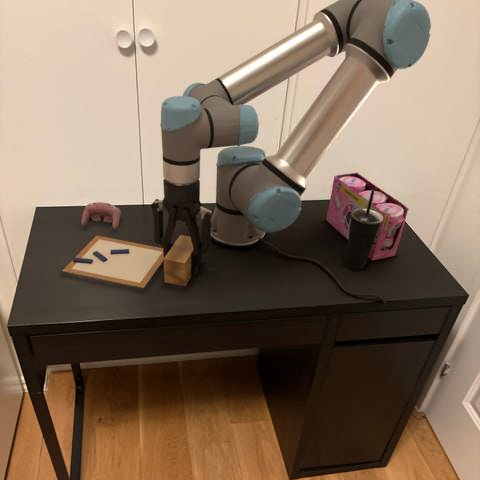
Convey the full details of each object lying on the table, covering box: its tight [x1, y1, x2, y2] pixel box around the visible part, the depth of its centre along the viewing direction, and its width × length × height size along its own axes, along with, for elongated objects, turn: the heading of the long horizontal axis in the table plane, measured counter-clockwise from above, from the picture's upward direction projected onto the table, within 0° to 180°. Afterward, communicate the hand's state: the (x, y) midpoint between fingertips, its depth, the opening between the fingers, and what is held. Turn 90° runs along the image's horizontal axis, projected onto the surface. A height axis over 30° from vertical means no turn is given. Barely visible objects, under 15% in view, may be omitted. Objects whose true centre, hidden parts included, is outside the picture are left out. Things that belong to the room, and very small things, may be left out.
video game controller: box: [80, 201, 122, 229], centre depth 134 cm, size 10×5×7 cm, turn 84°
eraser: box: [163, 234, 194, 288], centre depth 117 cm, size 5×11×8 cm, turn 165°
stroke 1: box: [72, 257, 93, 264], centre depth 119 cm, size 4×1×1 cm, turn 86°
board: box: [61, 235, 164, 289], centre depth 122 cm, size 20×17×1 cm
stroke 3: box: [110, 249, 129, 254], centre depth 123 cm, size 4×1×1 cm, turn 100°
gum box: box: [325, 172, 410, 261], centre depth 134 cm, size 24×8×14 cm, turn 24°
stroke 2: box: [93, 251, 107, 262], centre depth 121 cm, size 4×1×1 cm, turn 45°
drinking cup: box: [345, 190, 383, 271], centre depth 122 cm, size 8×8×20 cm
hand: (183, 272), depth 119 cm, fingers closed on eraser, 5 cm apart
